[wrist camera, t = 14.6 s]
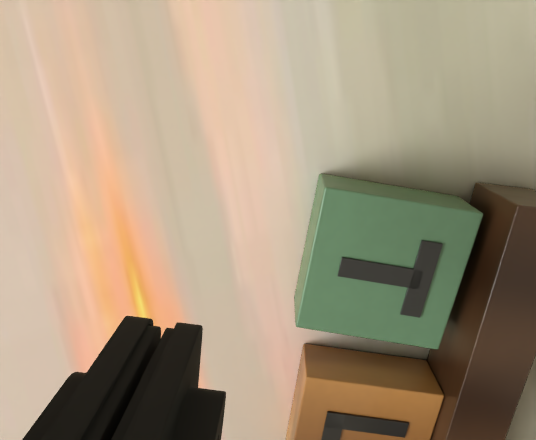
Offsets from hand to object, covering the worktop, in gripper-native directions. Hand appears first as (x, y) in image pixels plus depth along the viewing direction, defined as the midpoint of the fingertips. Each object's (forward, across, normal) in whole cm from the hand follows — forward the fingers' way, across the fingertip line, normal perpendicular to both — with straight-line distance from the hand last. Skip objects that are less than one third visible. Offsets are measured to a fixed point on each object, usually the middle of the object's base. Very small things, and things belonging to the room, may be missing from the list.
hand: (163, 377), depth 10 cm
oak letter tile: (+10, -7, +8) cm, 15 cm away
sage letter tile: (+10, -6, 0) cm, 12 cm away
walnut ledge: (+10, -11, +5) cm, 16 cm away
